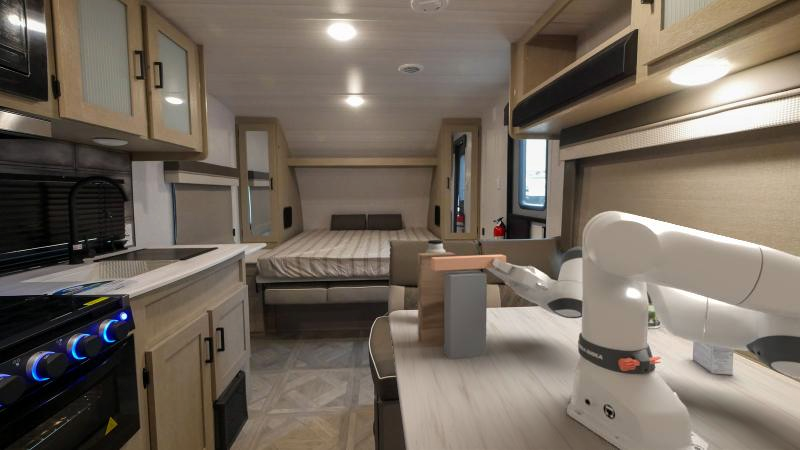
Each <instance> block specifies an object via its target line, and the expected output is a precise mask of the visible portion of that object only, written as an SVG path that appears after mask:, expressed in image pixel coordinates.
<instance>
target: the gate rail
mask: <svg viewBox="0 0 800 450" xmlns="http://www.w3.org/2000/svg"><path fill="white" fill-rule="evenodd" d="M493 258H494V259H497V260H499V261H501V262H503V263H505V264H506V263H507V255H504V254H482V255H481V254H479V255H477V254H476V255H457V256H453V257H431V269H433V270H434V271H439V270H458V271H460V270H475V269H477V270H479V269H487V268H497V267H495V266H493V265H491V261H492V259H493Z"/></svg>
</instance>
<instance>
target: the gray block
mask: <svg viewBox="0 0 800 450" xmlns="http://www.w3.org/2000/svg"><path fill="white" fill-rule="evenodd" d="M487 276H488V274H487V273H485V272H484V271H480V270H464V271H463V270H462V271H461V270H458V271H457V272H444V345H443V348H444V349H443V352H444V353H445V355H447V357H448V358H449V359H450V360H455V359H464V358H475V357H485V356H487V305H488V304H487V296H488V295H487V293H488V292H487V290H488V288H487V287H488V285H487V284H488V281H487V280H488V277H487Z"/></svg>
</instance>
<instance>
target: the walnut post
mask: <svg viewBox="0 0 800 450" xmlns="http://www.w3.org/2000/svg"><path fill="white" fill-rule="evenodd" d="M453 256H458V255H457V254H456V253H454V252H450V251H449V252H447V251H446V252H443V253H426V252H422V253H417V316H418V317H417V339H418V340H417V341H418V342H419V344H420V346H421V347H422V348H431V347H439V346H440V347H441V346H444V272H458V271H457V270H439V271H434V270H433V269H431V257H453Z"/></svg>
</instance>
